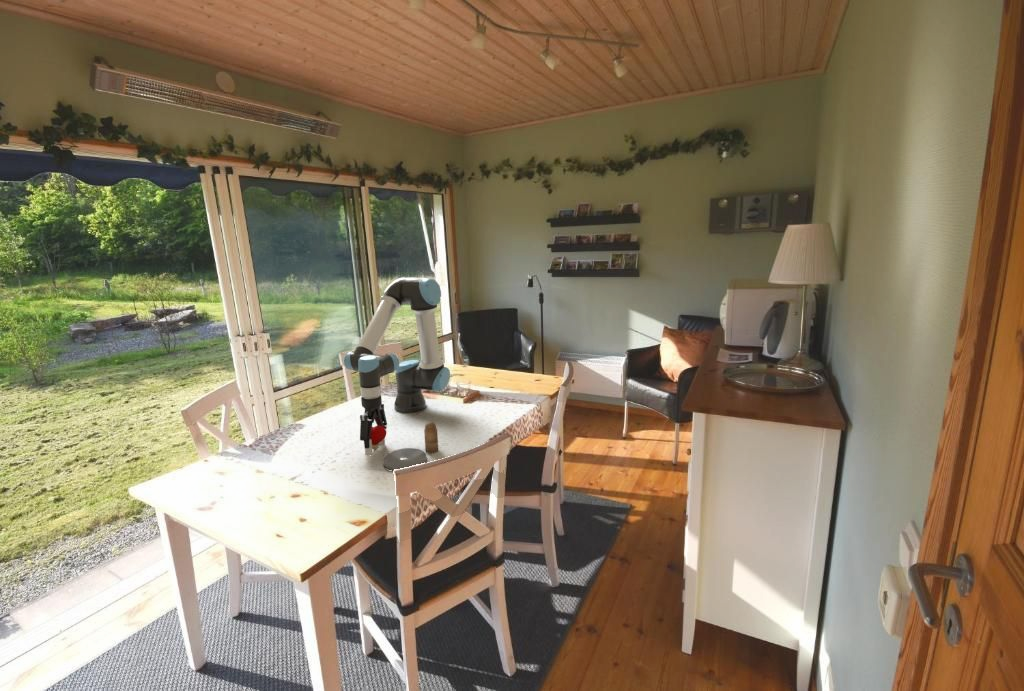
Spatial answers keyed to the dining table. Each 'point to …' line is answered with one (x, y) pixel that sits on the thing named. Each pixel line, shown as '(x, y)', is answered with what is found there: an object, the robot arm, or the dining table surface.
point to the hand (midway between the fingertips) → (375, 449)
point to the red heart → (377, 436)
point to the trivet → (404, 458)
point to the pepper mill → (431, 438)
